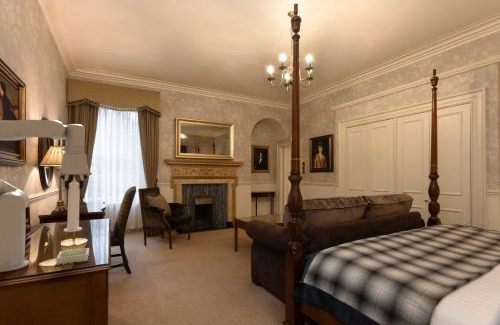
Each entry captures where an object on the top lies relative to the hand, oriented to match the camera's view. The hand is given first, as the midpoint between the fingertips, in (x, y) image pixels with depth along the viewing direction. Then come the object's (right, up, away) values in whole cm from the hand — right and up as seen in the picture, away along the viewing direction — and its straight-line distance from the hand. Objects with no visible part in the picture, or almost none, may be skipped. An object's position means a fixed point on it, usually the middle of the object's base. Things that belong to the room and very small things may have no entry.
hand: (74, 188), depth 125 cm
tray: (+2, -32, -3) cm, 32 cm away
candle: (0, -20, -1) cm, 20 cm away
